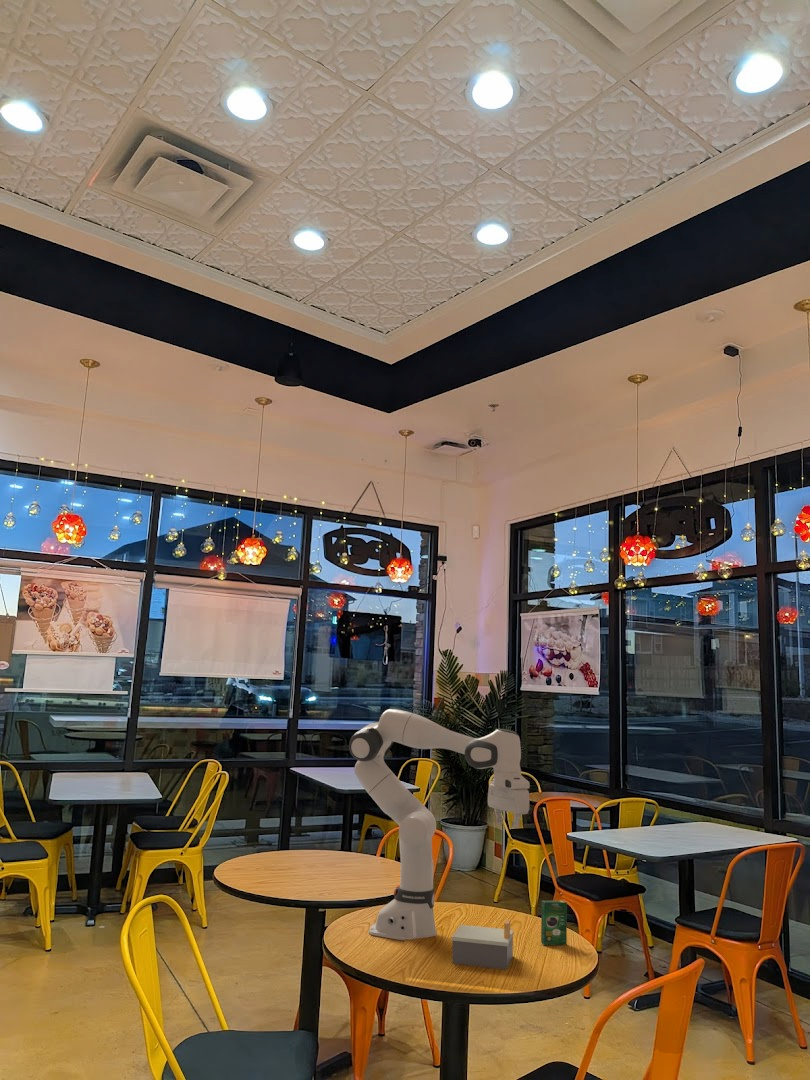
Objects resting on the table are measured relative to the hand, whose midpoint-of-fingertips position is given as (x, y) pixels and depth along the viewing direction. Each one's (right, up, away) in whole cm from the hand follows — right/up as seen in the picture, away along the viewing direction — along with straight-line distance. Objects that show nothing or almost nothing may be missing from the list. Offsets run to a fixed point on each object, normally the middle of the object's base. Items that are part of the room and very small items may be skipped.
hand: (507, 825), depth 247 cm
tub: (-10, -34, -17) cm, 40 cm away
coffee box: (+15, -40, +2) cm, 42 cm away
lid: (-9, -28, -16) cm, 33 cm away
